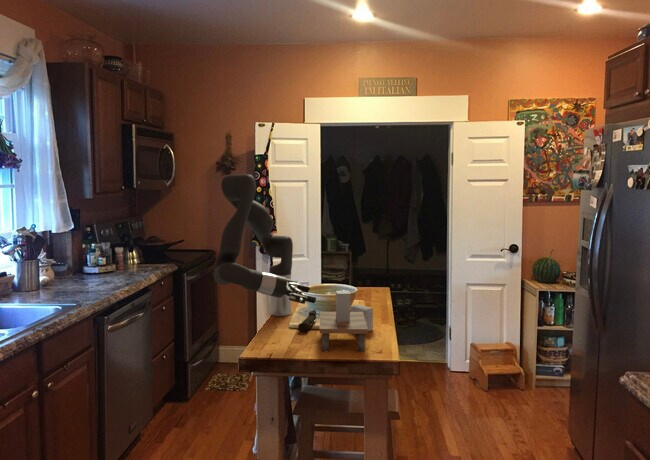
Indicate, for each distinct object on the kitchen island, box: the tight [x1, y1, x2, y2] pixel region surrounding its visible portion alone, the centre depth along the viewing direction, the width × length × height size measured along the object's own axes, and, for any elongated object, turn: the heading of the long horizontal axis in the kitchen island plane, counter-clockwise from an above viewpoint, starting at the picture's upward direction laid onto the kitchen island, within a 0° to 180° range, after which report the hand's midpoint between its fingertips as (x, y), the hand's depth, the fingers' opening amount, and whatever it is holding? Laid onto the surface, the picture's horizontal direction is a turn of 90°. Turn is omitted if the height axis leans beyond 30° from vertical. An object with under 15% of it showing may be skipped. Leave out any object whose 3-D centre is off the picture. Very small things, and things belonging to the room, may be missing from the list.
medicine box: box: [350, 304, 374, 332], centre depth 200 cm, size 8×4×9 cm, turn 43°
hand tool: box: [297, 309, 317, 334], centre depth 205 cm, size 19×4×5 cm, turn 165°
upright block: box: [335, 290, 351, 322], centre depth 183 cm, size 4×4×10 cm
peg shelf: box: [319, 311, 369, 353], centre depth 184 cm, size 22×16×8 cm
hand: (312, 295), depth 189 cm, fingers open, 8 cm apart
